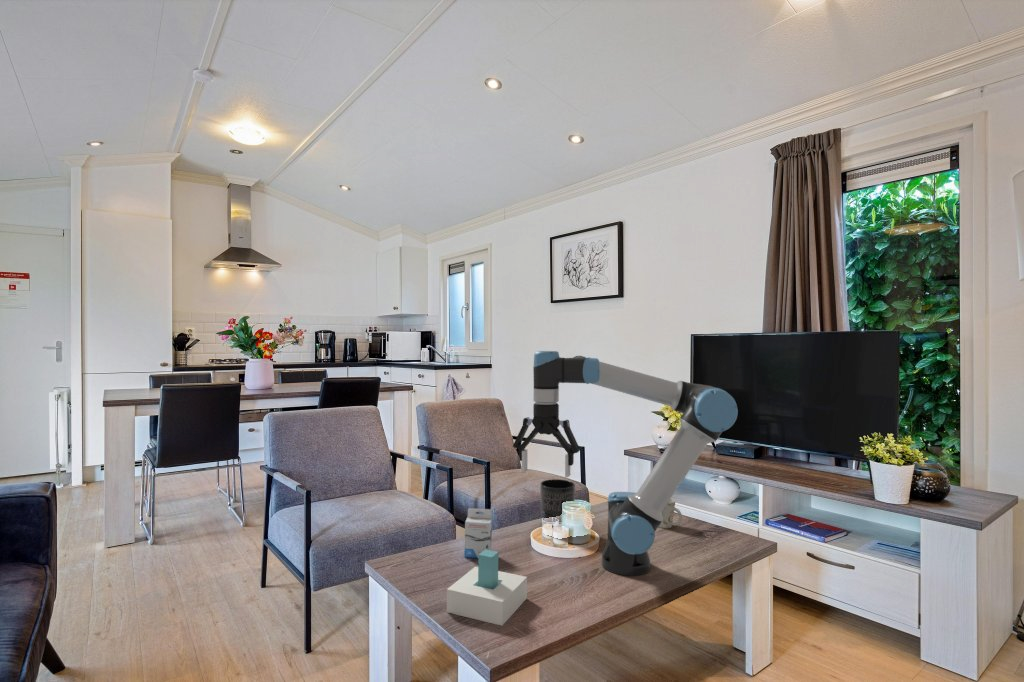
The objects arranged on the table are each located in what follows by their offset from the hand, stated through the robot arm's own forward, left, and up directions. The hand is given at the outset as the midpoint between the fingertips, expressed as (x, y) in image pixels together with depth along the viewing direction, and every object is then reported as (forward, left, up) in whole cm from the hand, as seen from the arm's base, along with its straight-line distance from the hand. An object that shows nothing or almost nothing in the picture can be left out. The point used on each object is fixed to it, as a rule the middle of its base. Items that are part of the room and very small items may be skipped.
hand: (545, 474), depth 165 cm
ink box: (+26, -7, -32) cm, 42 cm away
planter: (+10, -40, -32) cm, 52 cm away
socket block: (+8, +22, -31) cm, 39 cm away
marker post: (+8, +22, -31) cm, 39 cm away
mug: (-27, -63, -32) cm, 76 cm away
